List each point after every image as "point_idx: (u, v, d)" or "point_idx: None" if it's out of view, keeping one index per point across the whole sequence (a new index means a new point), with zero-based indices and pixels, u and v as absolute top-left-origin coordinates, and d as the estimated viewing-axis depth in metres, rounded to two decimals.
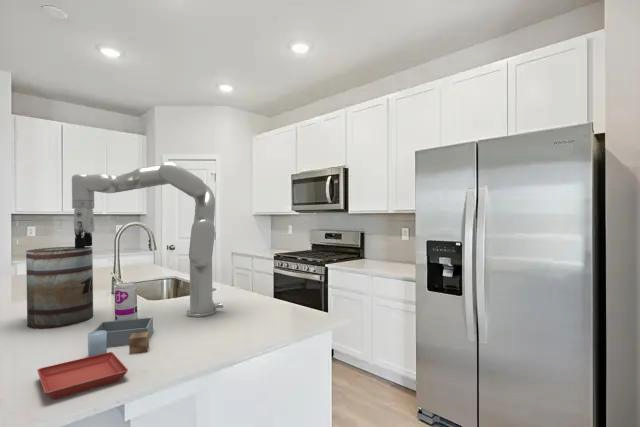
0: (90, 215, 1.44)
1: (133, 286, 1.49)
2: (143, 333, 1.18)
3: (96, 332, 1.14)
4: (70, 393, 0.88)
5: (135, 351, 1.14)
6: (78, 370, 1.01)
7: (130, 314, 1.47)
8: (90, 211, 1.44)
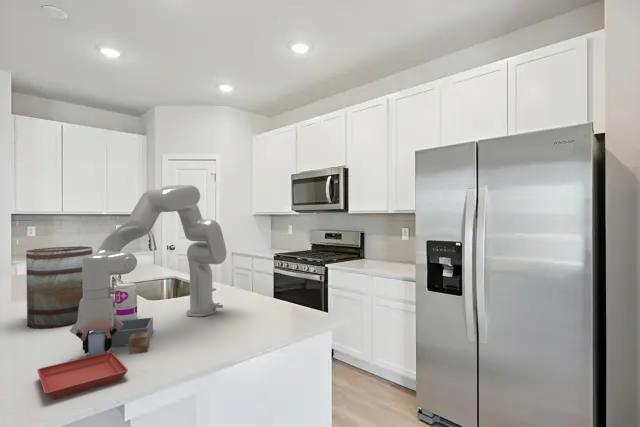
0: None
1: (133, 286, 1.49)
2: (143, 333, 1.18)
3: (96, 332, 1.14)
4: (70, 393, 0.88)
5: (135, 351, 1.14)
6: (78, 370, 1.01)
7: (130, 314, 1.47)
8: None
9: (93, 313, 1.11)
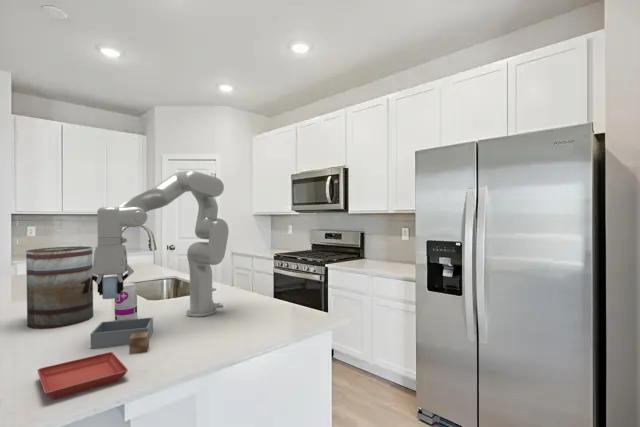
0: None
1: (133, 286, 1.49)
2: (143, 333, 1.18)
3: (109, 277, 1.26)
4: (70, 393, 0.88)
5: (135, 351, 1.14)
6: (78, 370, 1.01)
7: (130, 314, 1.47)
8: None
9: (107, 259, 1.23)
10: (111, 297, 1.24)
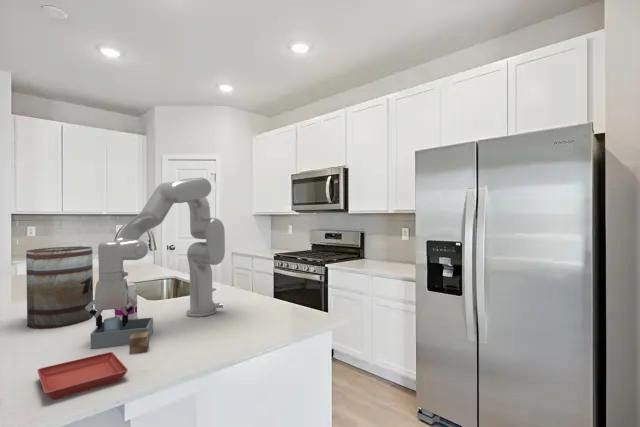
0: None
1: (133, 286, 1.49)
2: (143, 333, 1.18)
3: (111, 318, 1.26)
4: (70, 393, 0.88)
5: (135, 351, 1.14)
6: (78, 370, 1.01)
7: (130, 314, 1.47)
8: None
9: (108, 294, 1.23)
10: None
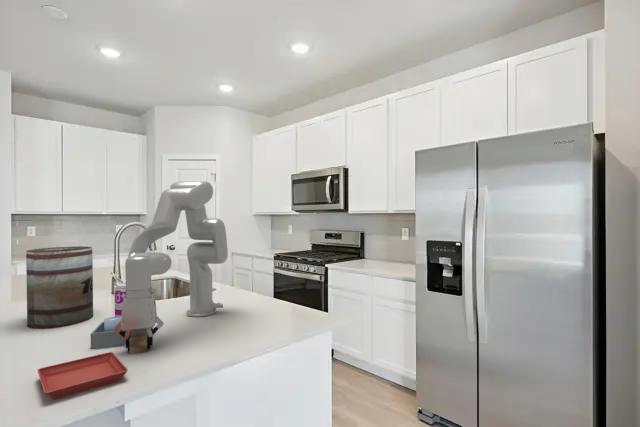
0: None
1: None
2: (143, 333, 1.18)
3: (111, 318, 1.26)
4: (70, 393, 0.88)
5: (135, 350, 1.14)
6: (78, 370, 1.01)
7: None
8: None
9: (136, 312, 1.14)
10: None
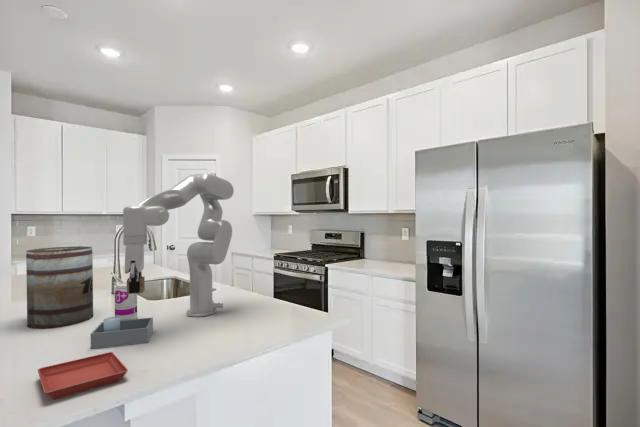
0: None
1: None
2: None
3: (110, 318, 1.26)
4: (70, 393, 0.88)
5: (143, 289, 1.28)
6: (78, 370, 1.01)
7: (130, 314, 1.47)
8: None
9: (143, 255, 1.28)
10: None
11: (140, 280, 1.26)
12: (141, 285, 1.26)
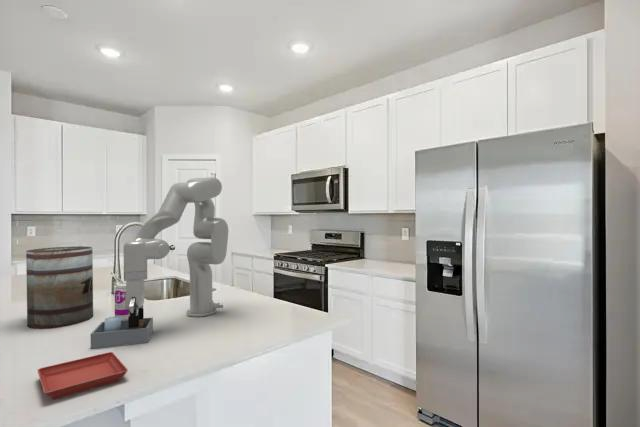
0: None
1: None
2: None
3: (111, 318, 1.26)
4: (70, 393, 0.88)
5: None
6: (78, 370, 1.01)
7: None
8: None
9: (143, 290, 1.29)
10: None
11: (140, 325, 1.26)
12: None
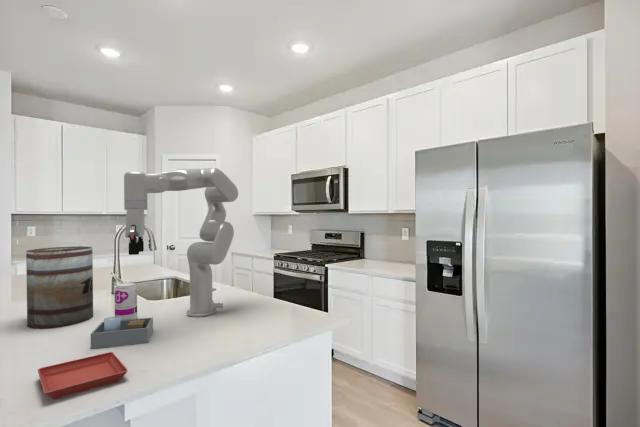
0: None
1: (133, 286, 1.49)
2: (133, 321, 1.29)
3: (110, 318, 1.26)
4: (70, 393, 0.88)
5: None
6: (78, 370, 1.01)
7: (130, 314, 1.47)
8: None
9: (143, 221, 1.30)
10: None
11: (140, 325, 1.26)
12: None
